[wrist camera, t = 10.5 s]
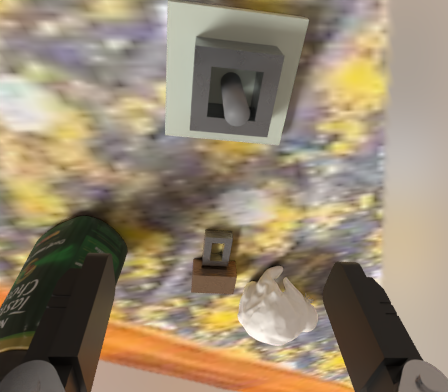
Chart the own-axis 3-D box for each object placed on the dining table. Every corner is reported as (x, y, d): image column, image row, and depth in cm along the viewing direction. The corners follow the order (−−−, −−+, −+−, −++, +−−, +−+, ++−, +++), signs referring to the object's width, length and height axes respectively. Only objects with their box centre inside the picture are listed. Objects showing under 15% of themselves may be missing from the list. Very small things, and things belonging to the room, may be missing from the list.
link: (191, 115, 27) (189, 130, 25) (196, 36, 24) (194, 45, 21) (262, 121, 28) (267, 137, 26) (276, 46, 25) (284, 55, 22)
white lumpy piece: (282, 319, 32) (347, 349, 39) (264, 252, 39) (322, 287, 45) (237, 346, 35) (304, 370, 41) (227, 280, 42) (287, 309, 48)
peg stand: (166, 127, 30) (156, 175, 23) (169, -2, 24) (156, 14, 17) (276, 137, 31) (295, 186, 24) (304, 16, 25) (338, 37, 18)
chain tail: (192, 275, 41) (191, 292, 39) (196, 229, 37) (195, 245, 35) (231, 277, 42) (233, 293, 40) (240, 232, 37) (242, 247, 35)
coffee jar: (89, 201, 34) (-4, 396, 19) (139, 247, 38) (96, 437, 23) (24, 240, 36) (-103, 438, 21) (78, 279, 41) (3, 468, 26)
